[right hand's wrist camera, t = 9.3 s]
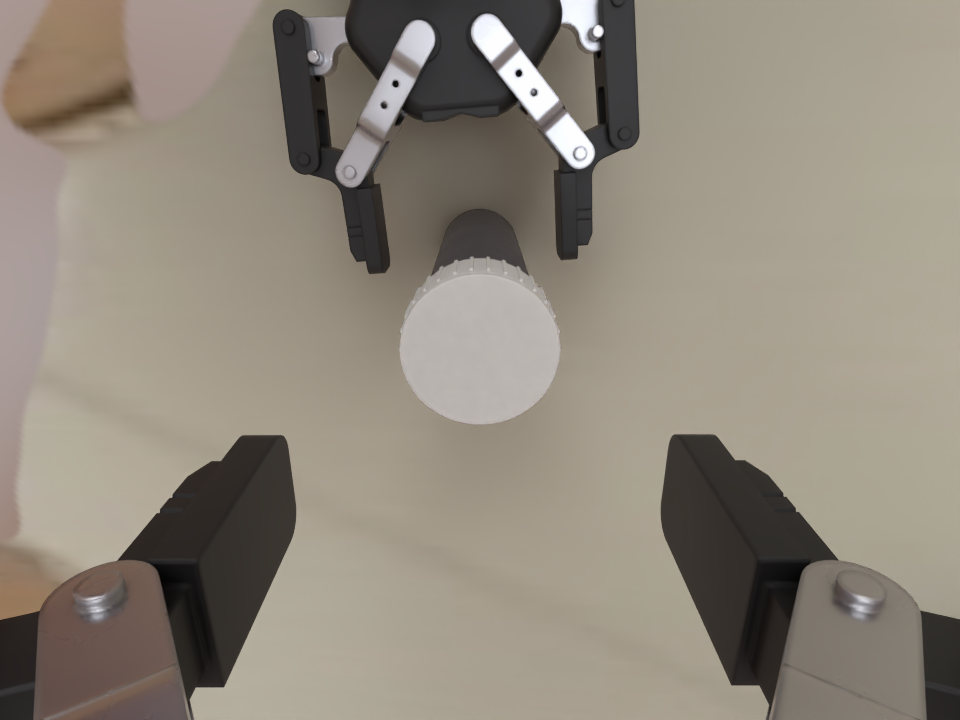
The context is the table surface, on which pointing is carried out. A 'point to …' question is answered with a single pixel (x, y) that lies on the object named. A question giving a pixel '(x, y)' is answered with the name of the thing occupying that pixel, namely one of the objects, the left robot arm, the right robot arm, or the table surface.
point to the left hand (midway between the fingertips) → (473, 263)
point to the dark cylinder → (480, 240)
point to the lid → (479, 342)
